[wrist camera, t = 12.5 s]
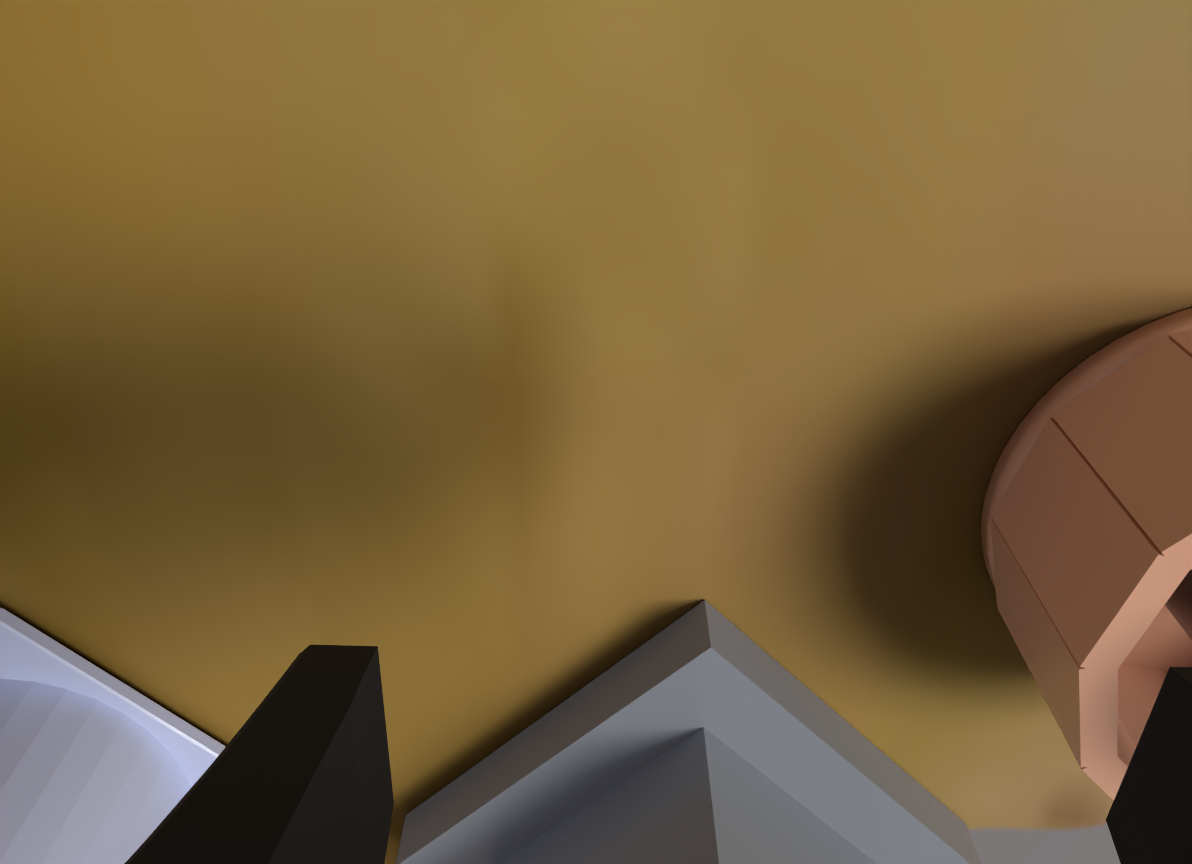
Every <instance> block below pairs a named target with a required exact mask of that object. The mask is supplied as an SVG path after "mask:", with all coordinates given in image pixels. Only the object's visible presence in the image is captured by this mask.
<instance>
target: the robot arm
mask: <svg viewBox="0 0 1192 864" xmlns="http://www.w3.org/2000/svg"><path fill="white" fill-rule="evenodd" d="M393 804H394V800H393V791H392V781H391V771H390V762H389V752H388V742H387V733H386V723H385V713H384V704H383V694H382V684H381V675H380V665H379V655H378V646H340V645H310V646H308V647H307V648H306V649H305V650H304V651H302V652H301V653H300V654H299V655H298V656H297V658H296V659H295V660H294V662H293V663H292V664H291V665H290V667H289V668H288V669H287V671H286V672H285V673H284V674H283V676H282V677H281V678H280V680H279V681H278V682H277V683H276V685H275V686H274V687H273V689H272V690H271V691H270V692H269V694H268V695H267V696H266V698H265V699H264V700H263V701H262V703H261V704H260V705H259V706H258V708H257V709H256V710H255V711H254V713H253V714H252V715H251V716H250V718H249V719H248V720H247V721H246V723H245V724H244V725H243V726H242V728H241V729H240V730H239V731H238V733H237V734H236V735H235V736H234V737H233V739H232V740H231V741H230V742H229V744H228V745H227V746H224V745H223V744H221V743H219V742H218V741H216V740H215V739H213V738H211V737H210V736H208V735H207V734H205V733H203V732H202V731H200V730H198V729H197V728H195V727H194V726H192V725H190V724H189V723H187V722H186V721H184V720H182V719H181V718H179V717H178V716H176V715H174V714H173V713H171V712H169V711H168V710H166V709H165V708H163V707H161V706H160V705H158V704H157V703H155V702H153V701H152V700H150V699H149V698H147V697H145V696H144V695H142V694H140V693H139V692H137V691H136V690H134V689H132V688H131V687H129V686H128V685H126V684H124V683H123V682H121V681H119V680H118V679H116V678H115V677H113V676H111V675H110V674H108V673H107V672H105V671H103V670H102V669H100V668H99V667H97V666H95V665H94V664H92V663H90V662H89V661H87V660H86V659H84V658H82V657H81V656H79V655H78V654H76V653H74V652H73V651H71V650H70V649H68V648H66V647H65V646H63V645H61V644H60V643H58V642H57V641H55V640H53V639H52V638H50V637H49V636H47V635H45V634H44V633H42V632H40V631H39V630H37V629H36V628H34V627H32V626H31V625H29V624H28V623H26V622H24V621H23V620H21V619H20V618H18V617H16V616H15V615H13V614H11V613H10V612H8V611H7V610H5V609H3V608H1V607H0V864H384V862H385V855H386V849H387V843H388V836H389V830H390V823H391V817H392V810H393ZM1106 821H1107V824H1108V827H1109V830H1110V833H1111V836H1112V839H1113V842H1114V845H1115V848H1116V850H1117V854H1118V856H1119V860H1120V862H1121V864H1192V667H1169V670H1168V672H1167V675H1166V677H1165V679H1164V682H1163V684H1162V687H1161V689H1160V691H1159V694H1158V696H1157V699H1156V701H1155V703H1154V706H1153V708H1152V711H1151V713H1150V715H1149V718H1148V720H1147V723H1146V725H1145V727H1144V730H1143V732H1142V734H1141V737H1140V739H1139V742H1138V744H1137V746H1136V749H1135V751H1134V754H1133V756H1132V758H1131V761H1130V763H1129V766H1128V768H1127V770H1126V773H1125V775H1124V778H1123V780H1122V782H1121V785H1120V787H1119V790H1118V792H1117V794H1116V797H1115V799H1114V802H1113V804H1112V806H1111V809H1110V811H1109V814H1108V816H1107V818H1106Z"/></svg>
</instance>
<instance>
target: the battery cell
mask: <svg viewBox="0 0 1192 864" xmlns="http://www.w3.org/2000/svg"><path fill="white" fill-rule="evenodd" d="M1165 606H1166V607H1167V609H1168V610H1169V611H1170V612H1171V614H1172V615H1173V616H1174V618H1175V619H1176V620H1177V622H1178V623H1179V624H1180V626H1181V627H1182V628H1183V630H1184V631H1185V632H1186V634H1187V635H1188V636H1189V638H1190V639H1191V640H1192V569H1191V570H1190V571H1189V572H1188V573H1187V575H1186V576H1185V577H1184V579H1183V580H1182V581H1181V583H1180V584H1179V586H1178V587H1177V588H1176V590H1175V591H1174V592H1173V594H1172V595H1171V597H1170V598H1169V599H1168V601H1167V602H1166V603H1165Z"/></svg>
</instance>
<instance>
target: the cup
mask: <svg viewBox="0 0 1192 864" xmlns="http://www.w3.org/2000/svg"><path fill="white" fill-rule="evenodd" d="M981 543H982V549H983V556H984V562H985V565H986V567H987V570H988V573H989V576H990V579H991V581H992V583H993V585H994V587H995V589H996V600H997V608H998V610H999V612H1000V614H1001V616H1002V618H1003V620H1004V622H1005V624H1006V626H1007V628H1008V630H1009V631H1010V633H1011V635H1012V637H1013V639H1014V641H1015V643H1016V645H1017V647H1018V649H1019V651H1020V652H1021V654H1022V656H1023V658H1024V660H1025V662H1026V664H1027V666H1028V668H1029V670H1030V672H1031V674H1032V675H1033V677H1034V679H1035V681H1036V683H1037V685H1038V687H1039V689H1040V691H1041V693H1042V695H1043V696H1044V698H1045V700H1046V702H1047V704H1048V706H1049V708H1050V710H1051V712H1052V714H1053V716H1054V717H1055V719H1056V721H1057V723H1058V725H1059V727H1060V729H1061V731H1062V733H1063V735H1064V737H1065V738H1066V740H1067V742H1068V744H1069V746H1070V748H1071V750H1072V752H1073V754H1074V756H1075V758H1076V760H1077V761H1078V763H1079V765H1080V767H1081V769H1082V770H1083V771H1084V772H1085V773H1086V774H1087V775H1088V776H1089V777H1090V778H1091V779H1092V780H1093V781H1094V782H1095V783H1096V784H1097V785H1098V786H1099V787H1100V788H1101V789H1102V790H1104V791H1105V792H1106V793H1107V794H1108V795H1109V796H1110V797H1111V798H1112V799H1113V800H1114V799H1115V797H1116V794H1117V792H1118V790H1119V787H1120V785H1121V782H1122V780H1123V778H1124V775H1125V773H1126V770H1127V768H1128V766H1129V763H1130V761H1131V758H1132V756H1133V754H1134V751H1135V749H1136V746H1137V744H1138V742H1139V739H1140V737H1141V734H1142V732H1143V730H1144V727H1145V725H1146V723H1147V720H1148V718H1149V715H1150V713H1151V711H1152V708H1153V706H1154V703H1155V701H1156V699H1157V696H1158V694H1159V691H1160V689H1161V687H1162V684H1163V682H1164V679H1165V677H1166V675H1167V672H1168V670H1169V667H1192V640H1191V639H1190V638H1189V636H1188V635H1187V634H1186V632H1185V631H1184V630H1183V628H1182V627H1181V626H1180V624H1179V623H1178V622H1177V620H1176V619H1175V618H1174V616H1173V615H1172V614H1171V612H1170V611H1169V610H1168V609H1167V607H1166V606H1165V603H1166V602H1167V601H1168V599H1169V598H1170V597H1171V595H1172V594H1173V592H1174V591H1175V590H1176V588H1177V587H1178V586H1179V584H1180V583H1181V581H1182V580H1183V579H1184V577H1185V576H1186V575H1187V573H1188V572H1189V571H1190V570H1191V569H1192V308H1190V309H1186V310H1182V311H1179V312H1177V313H1174V314H1171V315H1169V316H1166V317H1164V318H1161V319H1158V320H1156V321H1153V322H1150V323H1148V324H1146V325H1144V326H1142V327H1140V328H1138V329H1136V330H1134V331H1132V332H1130V333H1128V334H1126V335H1124V336H1122V337H1120V338H1118V339H1116V340H1115V341H1113V342H1112V343H1110V344H1108V345H1107V346H1105V347H1104V348H1102V349H1101V350H1099V351H1097V352H1096V353H1094V354H1093V355H1091V356H1089V357H1088V358H1087V359H1085V360H1084V361H1083V362H1082V363H1080V364H1079V365H1078V366H1077V367H1075V368H1074V369H1073V370H1071V371H1070V372H1069V373H1068V374H1066V375H1065V376H1064V377H1063V378H1061V379H1060V380H1059V381H1058V382H1057V383H1056V384H1055V385H1054V386H1053V387H1052V388H1051V389H1050V390H1049V391H1048V392H1047V393H1046V394H1045V395H1044V396H1043V397H1042V398H1041V399H1040V400H1039V401H1038V402H1037V403H1036V405H1035V406H1034V407H1033V408H1032V409H1031V411H1030V412H1029V413H1028V414H1027V415H1026V417H1025V418H1024V419H1023V420H1022V421H1021V423H1020V424H1019V426H1018V427H1017V429H1016V430H1015V432H1014V433H1013V435H1012V436H1011V438H1010V440H1009V441H1008V443H1007V444H1006V446H1005V447H1004V449H1003V451H1002V454H1001V456H1000V458H999V460H998V462H997V464H996V466H995V468H994V470H993V473H992V476H991V479H990V482H989V485H988V488H987V491H986V494H985V499H984V505H983V511H982V517H981Z"/></svg>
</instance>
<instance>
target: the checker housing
mask: <svg viewBox="0 0 1192 864" xmlns="http://www.w3.org/2000/svg"><path fill="white" fill-rule="evenodd" d="M396 864H981V862H980V860H979V857H978V854H977V852H976V849H975V846H974V844H973V841H972V838H971V835H970V833H969V830H968V827H967V825H966V823H964V822H963V821H962V820H961V819H960V818H959V817H957V816H956V815H955V814H954V813H953V812H952V811H950V810H949V809H948V808H947V807H946V806H945V805H943V804H942V803H941V802H940V801H939V800H938V799H936V798H935V797H934V796H933V795H932V794H931V793H929V792H928V791H927V790H926V789H925V788H924V787H922V786H921V785H920V784H919V783H918V782H917V781H915V780H914V779H913V778H912V777H911V776H910V775H908V774H907V773H906V772H905V771H904V770H903V769H901V768H900V767H899V766H898V765H897V764H896V763H894V762H893V761H892V760H891V759H890V758H889V757H887V756H886V755H885V754H884V753H883V752H882V751H880V750H879V749H878V748H877V747H876V746H875V745H873V744H872V743H871V742H870V741H869V740H868V739H866V738H865V737H864V736H863V735H862V734H861V733H859V732H858V731H857V730H856V729H855V728H854V727H852V726H851V725H850V724H849V723H848V722H847V721H845V720H844V719H843V718H842V717H841V716H840V715H838V714H837V713H836V712H835V711H834V710H833V709H831V708H830V707H829V706H828V705H827V704H826V703H824V702H823V701H822V700H821V699H820V698H819V697H817V696H816V695H815V694H814V693H813V692H812V691H810V690H809V689H808V688H807V687H806V686H805V685H803V684H802V683H801V682H800V681H799V680H798V679H796V678H795V677H794V676H793V675H792V674H791V673H789V672H788V671H787V670H786V669H785V668H784V667H782V666H781V665H780V664H779V663H778V662H777V661H775V660H774V659H773V658H772V657H771V656H770V655H768V654H767V653H766V652H765V651H764V650H763V649H761V648H760V647H759V646H758V645H757V644H756V643H754V642H753V641H752V640H751V639H750V638H749V637H747V636H746V635H745V634H744V633H743V632H742V631H740V630H739V629H738V628H737V627H736V626H735V625H733V624H732V623H731V622H730V621H729V620H728V619H726V618H725V617H724V616H723V615H722V614H721V613H719V612H718V611H717V610H716V609H715V608H714V607H712V606H711V605H710V604H709V603H708V602H707V601H705V600H704V601H703V602H701V603H700V604H698V605H697V606H696V607H694V608H693V609H691V610H690V611H689V612H687V613H686V614H684V615H683V616H682V617H680V618H679V619H678V620H676V621H675V622H673V623H672V624H671V625H669V626H668V627H666V628H665V629H664V630H662V631H661V632H659V633H658V634H657V635H655V636H654V637H652V638H651V639H650V640H648V641H647V642H646V643H644V644H643V645H641V646H640V647H639V648H637V649H636V650H634V651H633V652H632V653H630V654H629V655H627V656H626V657H625V658H623V659H622V660H621V661H619V662H618V663H616V664H615V665H614V666H612V667H611V668H609V669H608V670H607V671H605V672H604V673H602V674H601V675H600V676H598V677H597V678H596V679H594V680H593V681H591V682H590V683H589V684H587V685H586V686H584V687H583V688H582V689H580V690H579V691H577V692H576V693H575V694H573V695H572V696H570V697H569V698H568V699H566V700H565V701H564V702H562V703H561V704H559V705H558V706H557V707H555V708H554V709H552V710H551V711H550V712H548V713H547V714H545V715H544V716H543V717H541V718H540V719H539V720H537V721H536V722H534V723H533V724H532V725H530V726H529V727H527V728H526V729H525V730H523V731H522V732H520V733H519V734H518V735H516V736H515V737H514V738H512V739H511V740H509V741H508V742H507V743H505V744H504V745H502V746H501V747H500V748H498V749H497V750H495V751H494V752H493V753H491V754H490V755H488V756H487V757H486V758H484V759H483V760H482V761H480V762H479V763H477V764H476V765H475V766H473V767H472V768H470V769H469V770H468V771H466V772H465V773H463V774H462V775H461V776H459V777H458V778H457V779H455V780H454V781H452V782H451V783H450V784H448V785H447V786H445V787H444V788H443V789H441V790H440V791H438V792H437V793H436V794H434V795H433V796H432V797H430V798H429V799H427V800H426V801H425V802H423V803H422V804H420V805H419V806H418V807H416V808H415V809H413V810H412V811H411V812H409V813H408V814H406V817H405V822H404V826H403V831H402V836H401V841H400V845H399V850H398V855H397V860H396Z"/></svg>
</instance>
